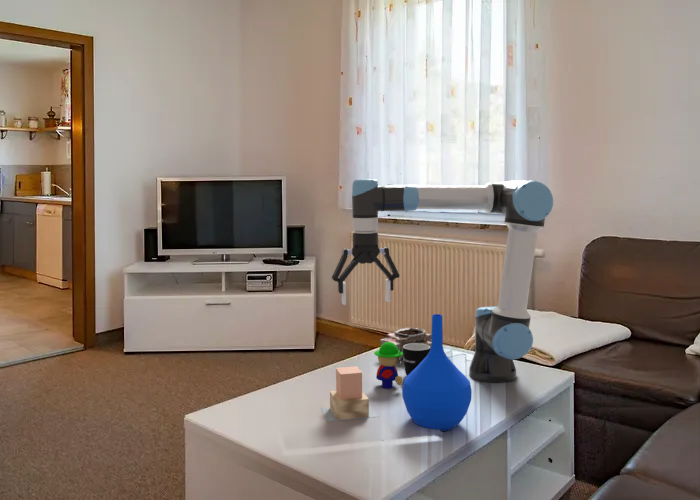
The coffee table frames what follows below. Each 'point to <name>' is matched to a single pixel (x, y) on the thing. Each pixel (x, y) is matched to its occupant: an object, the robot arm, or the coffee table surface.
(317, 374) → the coffee table surface
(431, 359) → the vase
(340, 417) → the oak brick
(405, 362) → the mug
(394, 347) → the toy
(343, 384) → the salmon pink block
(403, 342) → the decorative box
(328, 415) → the board
